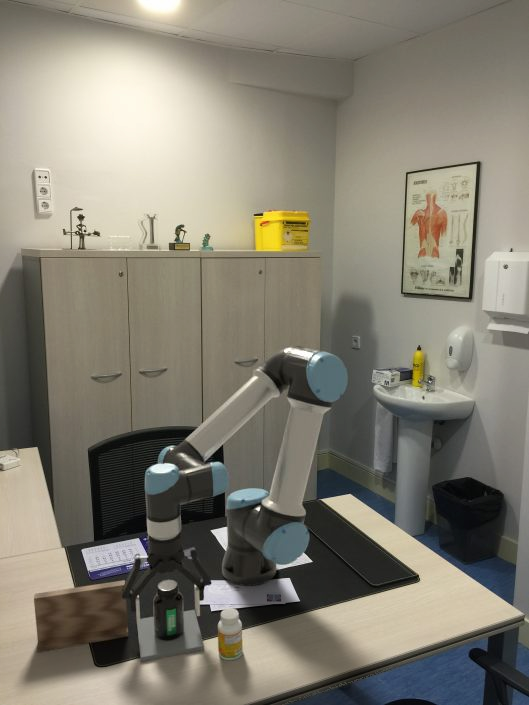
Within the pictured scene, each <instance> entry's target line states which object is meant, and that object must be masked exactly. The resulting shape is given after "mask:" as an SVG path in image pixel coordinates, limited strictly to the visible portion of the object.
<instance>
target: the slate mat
mask: <svg viewBox="0 0 529 705" xmlns="http://www.w3.org/2000/svg"><path fill="white" fill-rule="evenodd" d="M197 617H198V616H197V615H196V611H195V609H191V610H185V611H184V631H183V633H182V635H181V636H180V637H178V638H177V639H174V640H170V641H165V640H161V639H159V638H158V637H157V636H156V635H155V632H154V616H149V617H143V618H140V624H141V626H138V627H137V626H136V627H137V635H138V636H137V638H138V647H139V648H138V650H139V656H140V657H139V658H140V662H145V661H151V660H157V659H161V658H168V657H173V656H177V655H184V654H188V653H193V652H194V653H195V652H200V651H204V650H205V645H204V642H203V638H202V637H203V636H202V633H201V629H200V625H199V622H198V618H197Z"/></svg>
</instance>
